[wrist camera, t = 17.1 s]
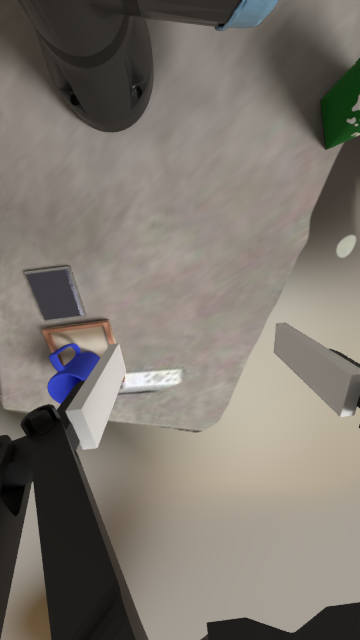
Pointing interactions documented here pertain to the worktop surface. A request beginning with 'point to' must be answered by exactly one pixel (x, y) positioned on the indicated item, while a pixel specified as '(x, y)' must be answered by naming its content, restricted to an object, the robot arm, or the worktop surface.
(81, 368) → the mug
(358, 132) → the milk carton
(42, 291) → the ink pad
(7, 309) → the worktop surface
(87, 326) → the sand box
